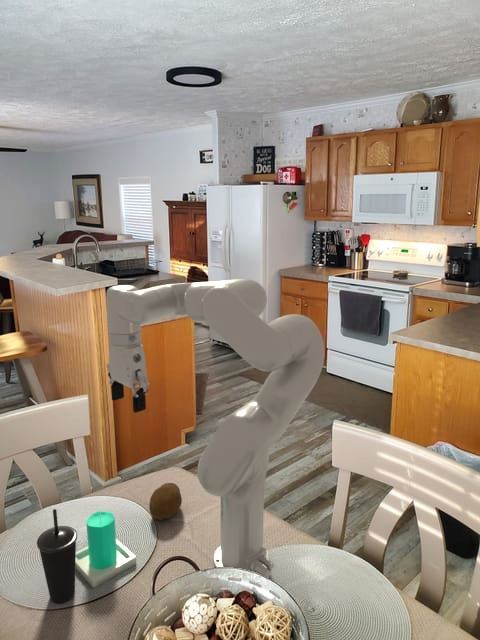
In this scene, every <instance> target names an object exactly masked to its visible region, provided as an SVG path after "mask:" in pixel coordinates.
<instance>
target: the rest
mask: <svg viewBox="0 0 480 640" xmlns="http://www.w3.org/2000/svg"><path fill="white" fill-rule="evenodd" d="M116 549H117V559H116V562H115V563H114V564H113V565H112V566H110V567H108V568H105V569H96V568H93V567H92V566H91V565H90V563H89V550H88V545H87V546H85V547H83V548H81V549H78V551H76V559H75V570H76V571H77V572H78V573H79V574H80V575H81V576H82V577H83V578H84V580H85V581H86V582H87V583H88V584H89V585H90V586H91V587H92V589H93V588H96V587H98V586H100V585H101V584H103V583H105V582H106V581H108V580H110V579H112V578H114V577H115V576H117V575H118V574H121V573H122V572H124V571H126V570H128V569H129V568H131V567H133V566H134V565H136V564H137V556H136V555H135V554H134V553H133V552H131V550H129V549H128V547H126V546H125V545H124V544H123V543H122V542H121V541H119V539H117V538H116Z"/></svg>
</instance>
